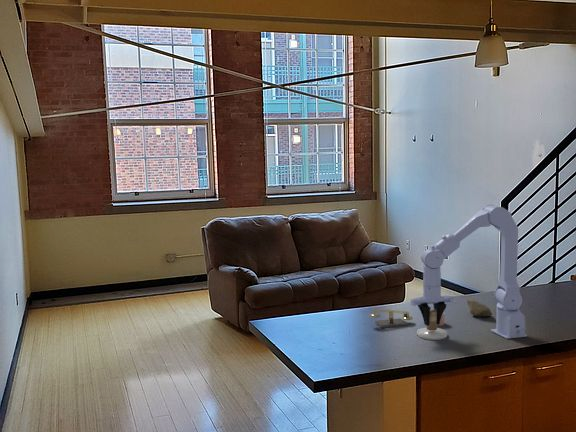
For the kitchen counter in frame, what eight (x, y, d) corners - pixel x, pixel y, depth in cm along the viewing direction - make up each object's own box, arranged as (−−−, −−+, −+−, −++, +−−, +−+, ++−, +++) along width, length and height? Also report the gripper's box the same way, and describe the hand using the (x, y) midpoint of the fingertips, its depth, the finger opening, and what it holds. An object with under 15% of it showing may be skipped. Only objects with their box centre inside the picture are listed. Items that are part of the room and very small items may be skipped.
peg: (438, 330, 199) (438, 311, 198) (429, 330, 198) (429, 312, 197) (434, 327, 202) (434, 308, 201) (424, 328, 201) (424, 309, 200)
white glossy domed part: (452, 338, 196) (452, 334, 196) (425, 341, 194) (425, 337, 194) (438, 329, 206) (438, 326, 206) (411, 332, 204) (411, 329, 204)
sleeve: (447, 324, 211) (447, 313, 211) (433, 326, 210) (433, 315, 210) (439, 320, 217) (439, 310, 216) (425, 322, 216) (425, 311, 215)
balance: (416, 324, 213) (416, 307, 212) (372, 328, 209) (372, 311, 208) (408, 320, 219) (408, 303, 218) (366, 324, 215) (366, 307, 214)
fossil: (489, 305, 215) (465, 295, 222) (483, 314, 214) (459, 304, 221) (494, 316, 221) (471, 306, 228) (489, 325, 220) (465, 315, 227)
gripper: (445, 281, 204) (445, 319, 205) (406, 284, 200) (407, 323, 202) (456, 285, 197) (455, 324, 198) (416, 288, 194) (416, 328, 195)
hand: (431, 324), depth 200 cm, fingers closed on peg, 3 cm apart
